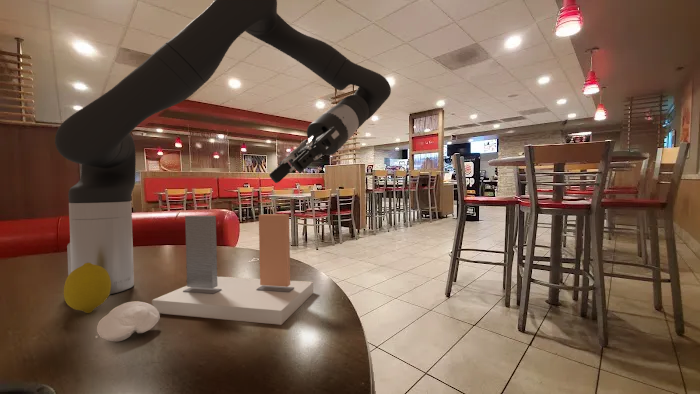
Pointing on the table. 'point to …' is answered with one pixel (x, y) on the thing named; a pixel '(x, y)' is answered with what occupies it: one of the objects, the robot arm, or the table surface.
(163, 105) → the robot arm
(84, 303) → the lemon
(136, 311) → the dumpling
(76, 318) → the table surface
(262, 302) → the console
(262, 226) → the terracotta paddle
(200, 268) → the grey paddle
